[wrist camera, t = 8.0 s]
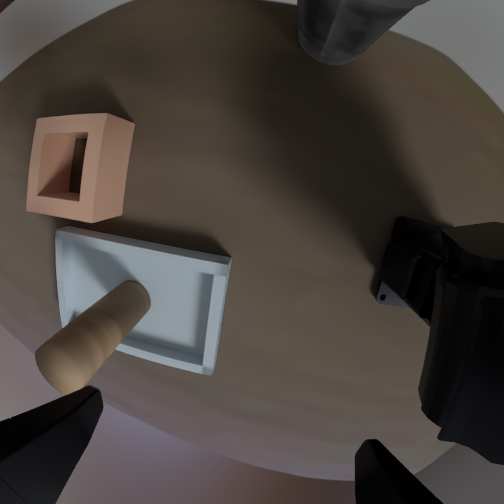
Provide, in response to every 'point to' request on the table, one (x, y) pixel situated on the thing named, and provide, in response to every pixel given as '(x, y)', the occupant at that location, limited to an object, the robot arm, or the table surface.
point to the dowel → (92, 337)
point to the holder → (94, 167)
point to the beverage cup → (346, 26)
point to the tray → (158, 286)
